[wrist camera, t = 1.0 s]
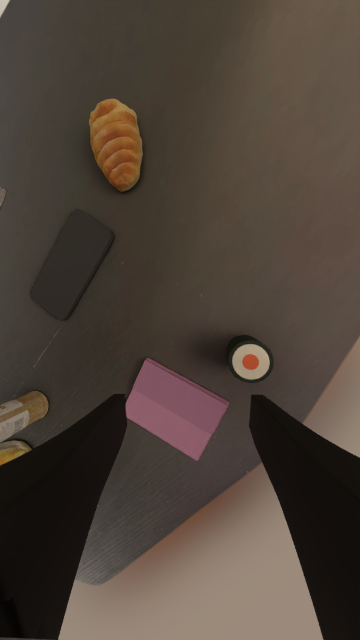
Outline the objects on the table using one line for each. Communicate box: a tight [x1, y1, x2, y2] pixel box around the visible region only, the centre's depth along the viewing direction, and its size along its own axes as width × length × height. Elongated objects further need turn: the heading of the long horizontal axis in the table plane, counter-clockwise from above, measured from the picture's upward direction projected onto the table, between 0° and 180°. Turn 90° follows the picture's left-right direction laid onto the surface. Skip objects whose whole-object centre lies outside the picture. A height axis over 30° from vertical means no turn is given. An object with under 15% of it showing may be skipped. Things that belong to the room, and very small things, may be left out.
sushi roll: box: [227, 335, 273, 383], centre depth 22 cm, size 4×4×5 cm
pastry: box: [89, 99, 143, 192], centre depth 25 cm, size 9×7×4 cm
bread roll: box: [0, 440, 32, 465], centre depth 30 cm, size 8×9×4 cm
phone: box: [30, 209, 113, 320], centre depth 28 cm, size 7×1×15 cm
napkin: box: [125, 357, 229, 461], centre depth 26 cm, size 12×9×1 cm
